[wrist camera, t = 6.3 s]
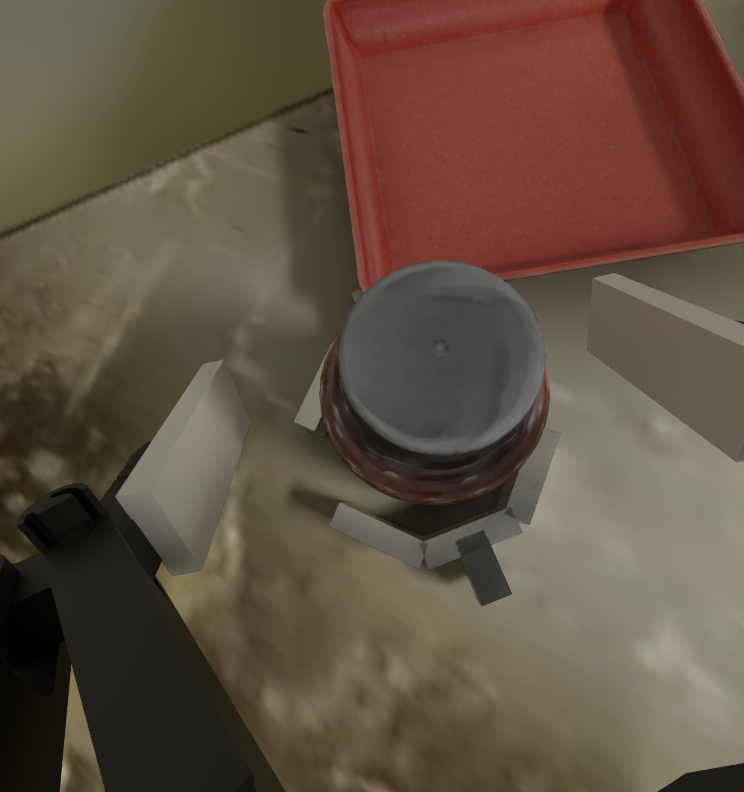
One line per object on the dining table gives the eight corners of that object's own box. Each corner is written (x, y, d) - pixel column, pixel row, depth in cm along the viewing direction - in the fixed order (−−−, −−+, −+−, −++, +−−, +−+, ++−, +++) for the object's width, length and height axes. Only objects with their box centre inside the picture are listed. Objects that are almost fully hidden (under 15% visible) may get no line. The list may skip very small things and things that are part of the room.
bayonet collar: (459, 271, 20) (464, 247, 18) (597, 543, 17) (621, 549, 15) (275, 344, 20) (261, 328, 18) (375, 633, 17) (371, 650, 15)
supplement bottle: (347, 386, 20) (268, 242, 9) (469, 361, 19) (550, 180, 8) (369, 513, 18) (308, 536, 7) (503, 488, 18) (654, 471, 7)
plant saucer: (330, 58, 24) (319, -9, 21) (635, 1, 24) (671, -77, 20) (367, 333, 20) (360, 301, 17) (748, 275, 19) (818, 229, 16)
